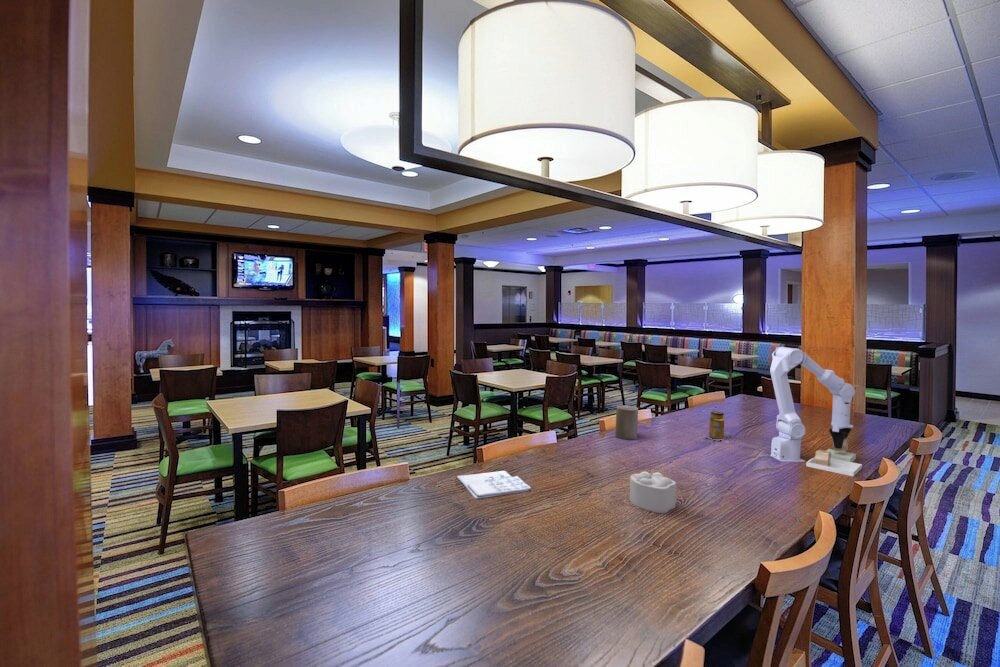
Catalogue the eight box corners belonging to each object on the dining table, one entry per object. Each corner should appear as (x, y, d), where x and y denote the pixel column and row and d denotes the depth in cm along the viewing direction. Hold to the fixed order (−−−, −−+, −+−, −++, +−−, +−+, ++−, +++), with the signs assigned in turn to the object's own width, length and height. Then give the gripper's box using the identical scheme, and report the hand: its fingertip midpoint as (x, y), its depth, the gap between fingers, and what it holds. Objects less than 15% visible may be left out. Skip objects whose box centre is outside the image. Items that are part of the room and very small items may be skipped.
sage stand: (850, 465, 180) (850, 458, 180) (822, 459, 187) (822, 453, 186) (855, 460, 186) (856, 453, 186) (828, 454, 193) (828, 448, 192)
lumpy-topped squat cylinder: (662, 515, 135) (662, 485, 134) (622, 501, 144) (622, 473, 144) (679, 505, 142) (680, 476, 141) (640, 492, 151) (640, 466, 151)
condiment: (727, 438, 216) (728, 412, 216) (719, 442, 210) (720, 415, 210) (710, 435, 221) (711, 409, 221) (703, 438, 216) (704, 412, 215)
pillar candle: (617, 439, 212) (619, 406, 212) (613, 433, 222) (614, 402, 221) (639, 440, 212) (641, 407, 211) (634, 434, 222) (635, 402, 221)
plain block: (827, 467, 175) (828, 454, 175) (815, 464, 178) (815, 451, 178) (830, 465, 178) (831, 452, 178) (818, 462, 181) (818, 449, 181)
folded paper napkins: (475, 501, 145) (475, 494, 145) (456, 479, 163) (456, 472, 163) (531, 492, 152) (531, 486, 152) (507, 472, 171) (507, 466, 170)
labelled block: (844, 452, 183) (845, 439, 183) (832, 450, 186) (833, 437, 186) (847, 450, 186) (848, 437, 185) (835, 448, 189) (835, 435, 188)
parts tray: (861, 469, 175) (862, 464, 175) (853, 477, 166) (853, 472, 166) (816, 460, 185) (816, 455, 185) (806, 467, 177) (806, 462, 177)
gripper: (848, 417, 177) (847, 452, 178) (858, 411, 187) (856, 445, 188) (826, 413, 183) (825, 448, 183) (836, 408, 192) (835, 441, 193)
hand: (839, 446), depth 186 cm, fingers closed on labelled block, 4 cm apart
